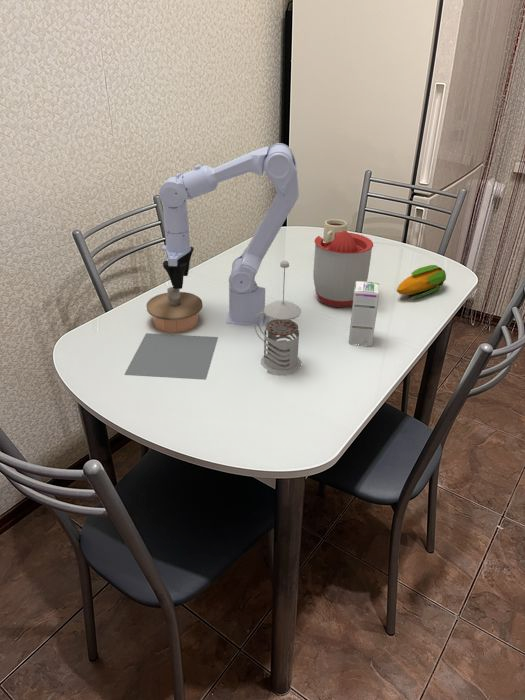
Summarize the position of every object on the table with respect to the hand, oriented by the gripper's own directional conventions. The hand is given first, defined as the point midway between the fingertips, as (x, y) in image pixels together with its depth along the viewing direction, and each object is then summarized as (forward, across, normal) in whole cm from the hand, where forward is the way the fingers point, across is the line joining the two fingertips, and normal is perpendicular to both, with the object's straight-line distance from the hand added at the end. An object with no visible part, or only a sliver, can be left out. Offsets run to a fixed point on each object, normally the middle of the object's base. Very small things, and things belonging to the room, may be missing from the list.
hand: (180, 281), depth 132 cm
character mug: (+10, -42, +42) cm, 60 cm away
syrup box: (+10, +8, +46) cm, 48 cm away
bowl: (+10, +4, -1) cm, 11 cm away
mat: (+10, +20, +2) cm, 22 cm away
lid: (+5, +4, -1) cm, 7 cm away
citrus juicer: (+10, -15, +41) cm, 45 cm away
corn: (+10, -20, +66) cm, 69 cm away
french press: (+10, +20, +26) cm, 34 cm away
